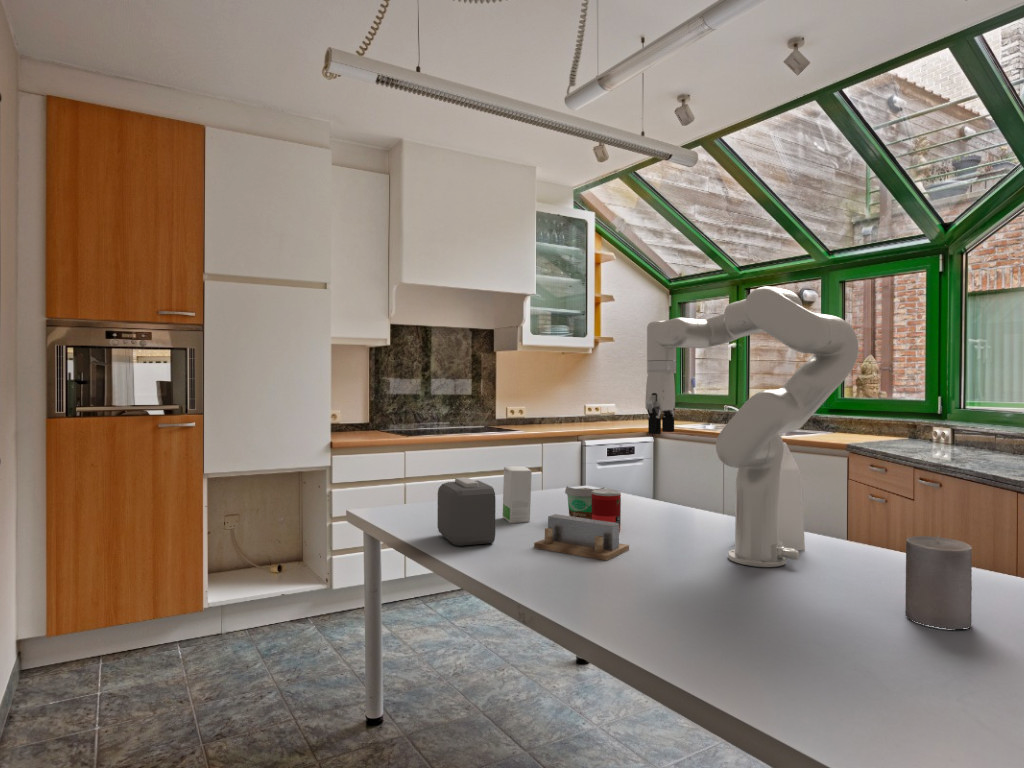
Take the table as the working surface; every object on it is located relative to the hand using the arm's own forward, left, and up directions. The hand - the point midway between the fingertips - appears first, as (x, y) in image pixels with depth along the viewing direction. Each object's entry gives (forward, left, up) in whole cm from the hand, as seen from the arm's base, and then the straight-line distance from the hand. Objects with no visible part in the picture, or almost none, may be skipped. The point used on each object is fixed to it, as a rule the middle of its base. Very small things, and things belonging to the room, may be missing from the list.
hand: (661, 432), depth 172 cm
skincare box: (+44, +4, -28) cm, 52 cm away
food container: (+27, -6, -28) cm, 39 cm away
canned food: (+16, +1, -28) cm, 32 cm away
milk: (-25, -12, -28) cm, 40 cm away
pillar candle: (-62, +28, -28) cm, 74 cm away
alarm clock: (+41, +32, -28) cm, 59 cm away
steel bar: (+11, +22, -27) cm, 36 cm away
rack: (+12, +22, -28) cm, 37 cm away
